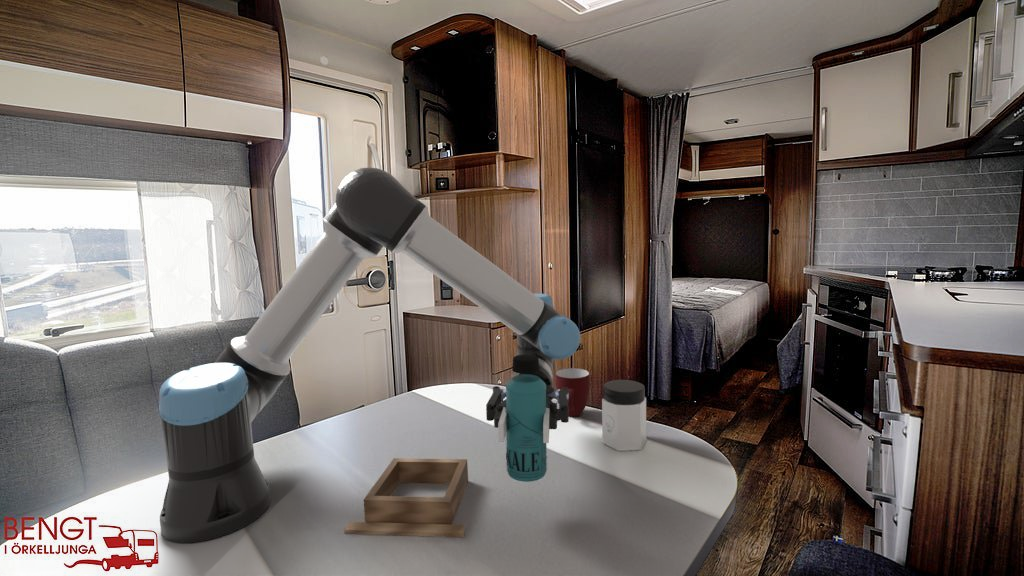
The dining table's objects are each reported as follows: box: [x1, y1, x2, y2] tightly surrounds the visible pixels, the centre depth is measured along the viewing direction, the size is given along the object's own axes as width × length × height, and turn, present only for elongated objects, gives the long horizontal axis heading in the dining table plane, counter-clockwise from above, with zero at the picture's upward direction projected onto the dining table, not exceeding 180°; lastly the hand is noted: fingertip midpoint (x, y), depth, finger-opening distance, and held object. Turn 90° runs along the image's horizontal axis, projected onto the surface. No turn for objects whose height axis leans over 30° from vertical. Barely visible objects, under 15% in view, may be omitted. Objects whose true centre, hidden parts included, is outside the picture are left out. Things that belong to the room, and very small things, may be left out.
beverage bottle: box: [505, 354, 548, 483], centre depth 74 cm, size 6×7×20 cm
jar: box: [601, 379, 647, 452], centre depth 98 cm, size 9×8×12 cm
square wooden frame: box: [343, 457, 469, 538], centre depth 78 cm, size 18×16×4 cm
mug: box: [554, 367, 591, 418], centre depth 113 cm, size 11×8×10 cm
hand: (523, 433), depth 69 cm, fingers closed on beverage bottle, 6 cm apart
